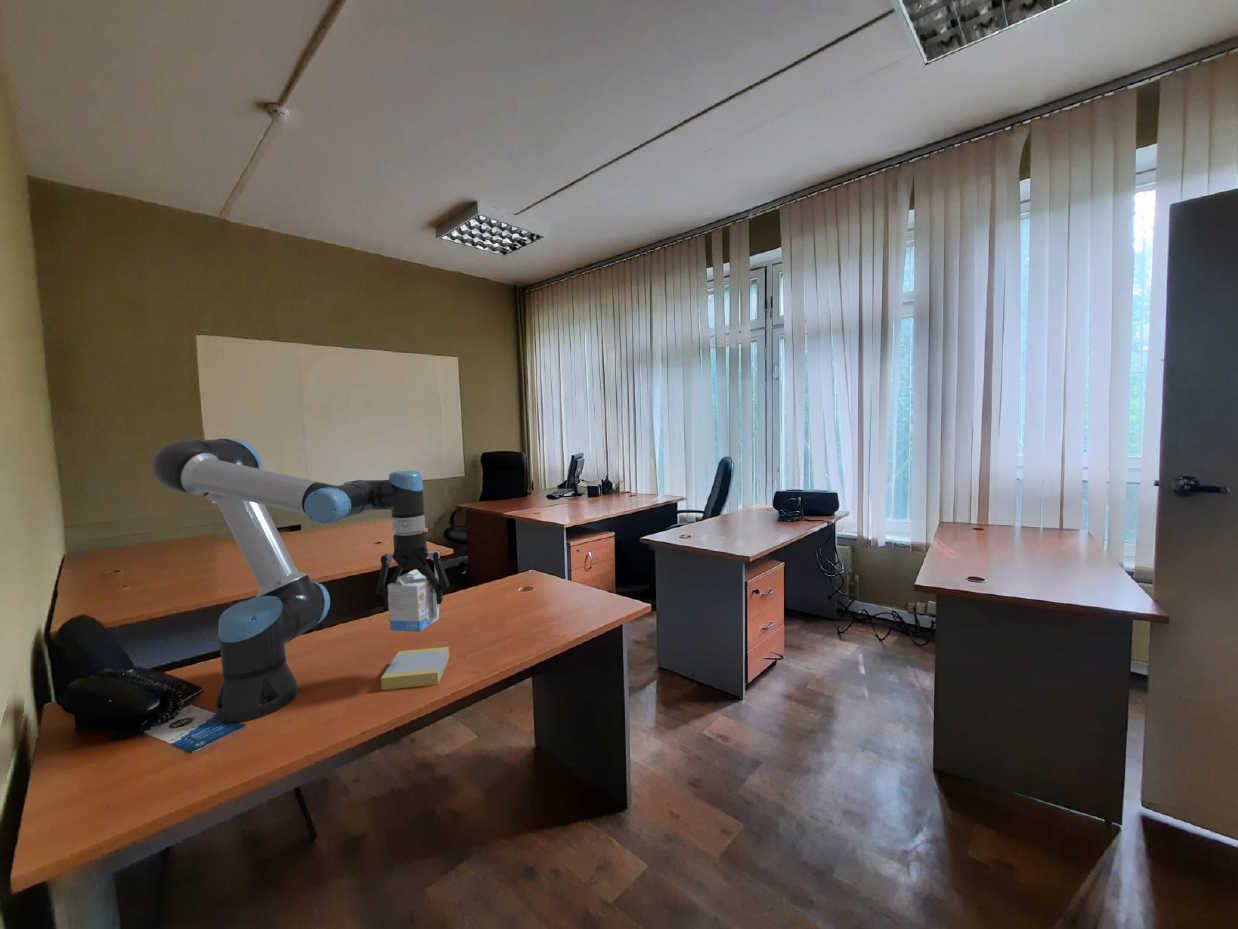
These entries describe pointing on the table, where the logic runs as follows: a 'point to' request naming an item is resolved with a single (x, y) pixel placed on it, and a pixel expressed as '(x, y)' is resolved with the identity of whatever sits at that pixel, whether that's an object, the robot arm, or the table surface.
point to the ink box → (411, 602)
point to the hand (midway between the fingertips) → (414, 617)
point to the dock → (415, 668)
